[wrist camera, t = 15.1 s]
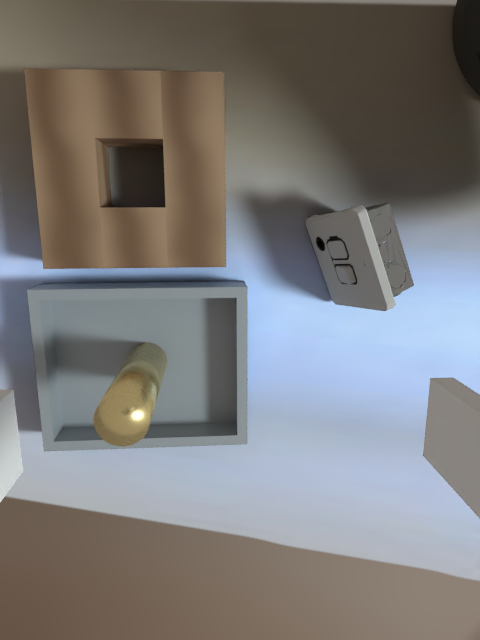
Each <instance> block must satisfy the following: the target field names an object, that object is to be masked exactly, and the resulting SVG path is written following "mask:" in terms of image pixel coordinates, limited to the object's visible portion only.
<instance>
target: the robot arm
mask: <svg viewBox="0 0 480 640" xmlns="http://www.w3.org/2000/svg"><path fill="white" fill-rule="evenodd" d="M453 40H454V48H455V52H456V56H457V60H458V63H459V65H460V68H461V70H462V72H463V74H464V76H465V77H466V79H467V80H468V82H469V83H470V84H471V86H472V87H473V88H474V89H475V90H476V91H477V92H478V93H479V94H480V0H457V4H456V8H455V13H454V21H453ZM423 456H424V457H425V458H426V459H427V460H428V462H429V463H430V464H431V465H432V466H433V467H434V468H435V469H436V470H437V472H438V473H439V474H440V475H441V476H442V477H443V478H444V479H445V480H446V482H447V483H448V484H449V485H450V486H451V487H452V488H453V489H454V490H455V492H456V493H457V494H458V495H459V496H460V497H461V498H462V499H463V500H464V501H465V503H466V504H467V505H468V506H469V507H470V508H471V509H472V510H473V511H474V513H475V514H476V515H477V516H478V517H479V518H480V395H479V394H477V393H476V392H474V391H473V390H471V389H470V388H468V387H467V386H465V385H464V384H462V383H461V382H459V381H458V380H456V379H455V378H430V388H429V399H428V409H427V420H426V431H425V441H424V452H423ZM22 472H23V466H22V457H21V449H20V440H19V432H18V424H17V415H16V407H15V399H14V390H0V502H1V501H2V499H3V498H4V497H5V495H6V494H7V492H8V491H9V490H10V488H11V487H12V486H13V484H14V483H15V481H16V480H17V479H18V477H19V476H20V475H21V473H22Z"/></svg>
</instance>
